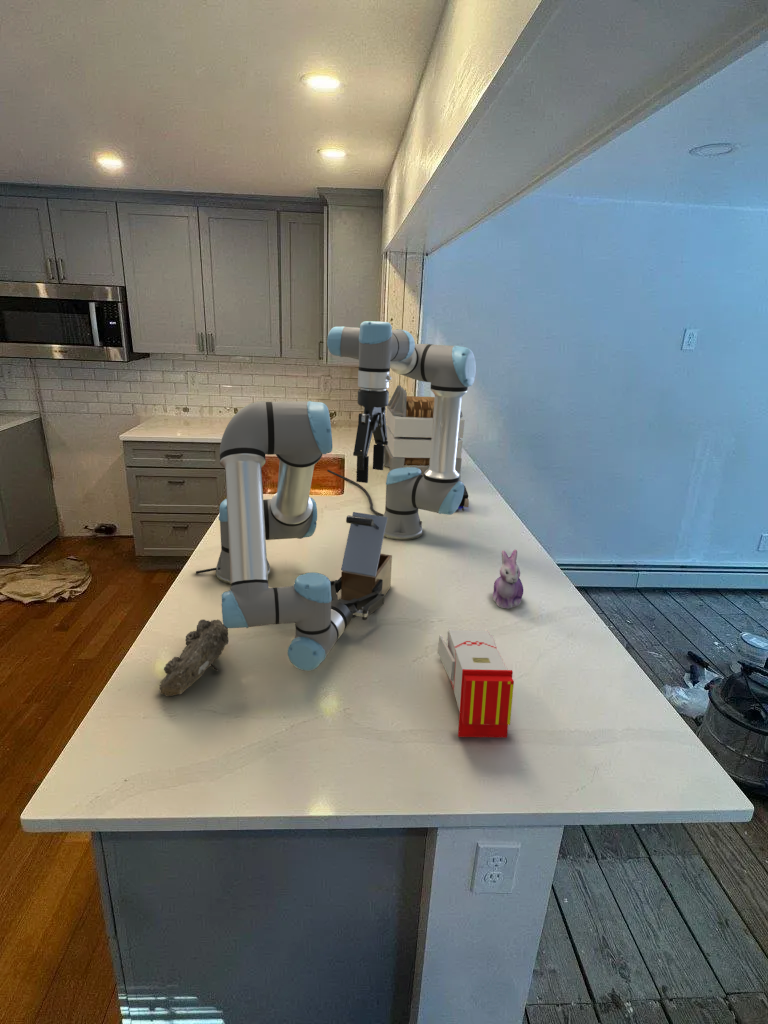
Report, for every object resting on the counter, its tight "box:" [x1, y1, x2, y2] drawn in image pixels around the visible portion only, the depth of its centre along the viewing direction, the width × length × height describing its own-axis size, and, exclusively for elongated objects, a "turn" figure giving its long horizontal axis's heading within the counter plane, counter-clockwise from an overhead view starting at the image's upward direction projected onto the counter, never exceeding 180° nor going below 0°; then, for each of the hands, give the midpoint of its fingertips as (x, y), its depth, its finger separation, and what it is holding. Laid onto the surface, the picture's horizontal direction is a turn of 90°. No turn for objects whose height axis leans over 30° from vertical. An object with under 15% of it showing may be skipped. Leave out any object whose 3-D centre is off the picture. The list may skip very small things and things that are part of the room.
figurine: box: [492, 548, 524, 609], centre depth 154 cm, size 9×10×15 cm
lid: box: [340, 511, 387, 577], centre depth 143 cm, size 16×9×9 cm
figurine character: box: [455, 485, 470, 512], centre depth 229 cm, size 7×8×15 cm
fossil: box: [159, 619, 229, 697], centre depth 120 cm, size 22×10×15 cm
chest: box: [340, 553, 393, 613], centre depth 154 cm, size 15×9×10 cm, turn 163°
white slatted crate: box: [383, 384, 465, 481], centre depth 268 cm, size 34×33×41 cm
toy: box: [437, 628, 515, 738], centre depth 117 cm, size 12×13×30 cm
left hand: (363, 580), depth 150 cm, fingers closed on chest, 9 cm apart
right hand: (370, 475), depth 144 cm, fingers open, 12 cm apart
